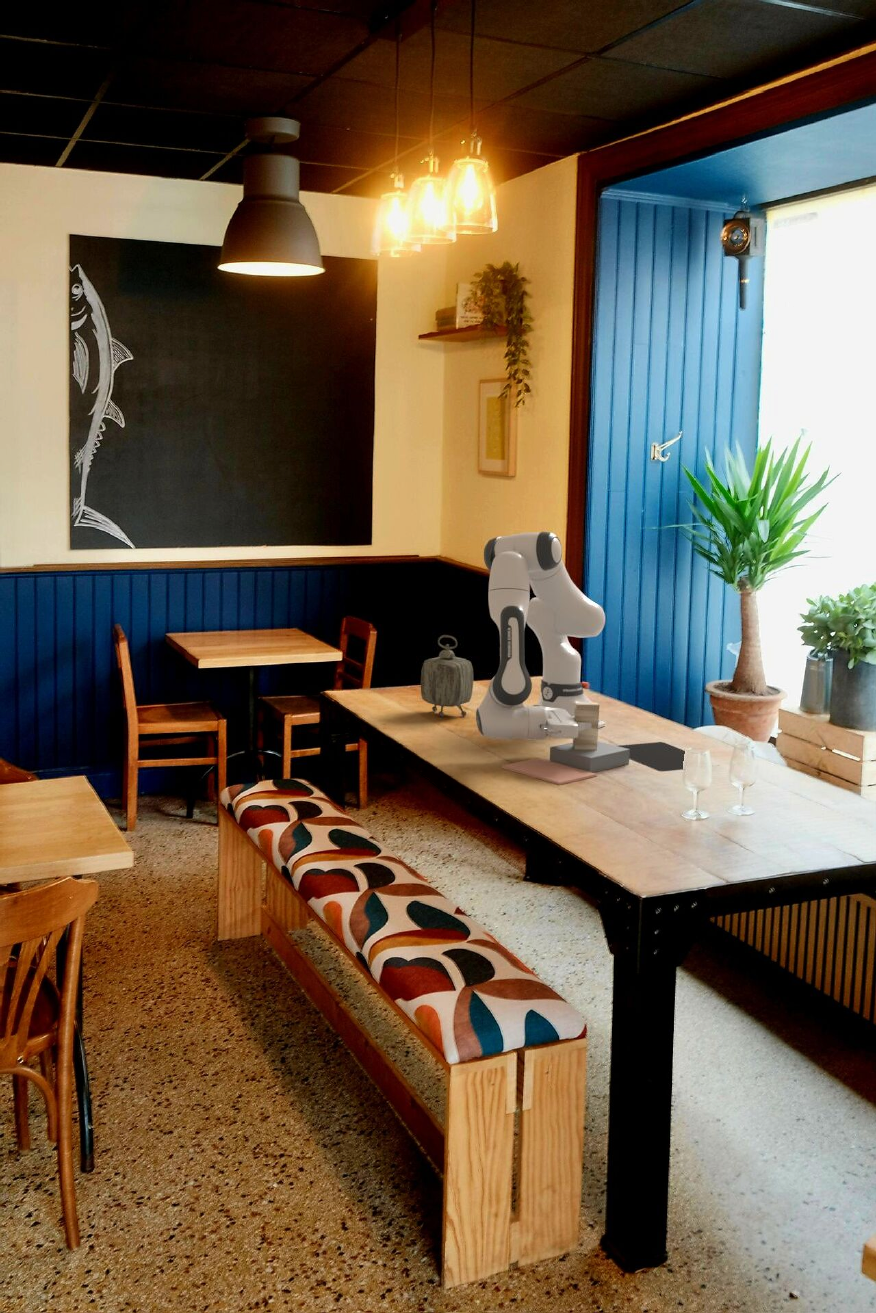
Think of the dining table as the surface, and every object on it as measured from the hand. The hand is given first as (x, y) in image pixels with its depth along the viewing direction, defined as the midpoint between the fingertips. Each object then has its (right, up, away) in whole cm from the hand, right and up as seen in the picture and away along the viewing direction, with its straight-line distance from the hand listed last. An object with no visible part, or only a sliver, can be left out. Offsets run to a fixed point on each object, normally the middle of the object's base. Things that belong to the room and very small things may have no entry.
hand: (589, 723), depth 325 cm
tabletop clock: (-38, -1, +54) cm, 66 cm away
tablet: (+21, -10, +12) cm, 26 cm away
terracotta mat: (-12, -12, -9) cm, 19 cm away
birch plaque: (-1, -6, +1) cm, 7 cm away
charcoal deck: (0, -10, +2) cm, 11 cm away
